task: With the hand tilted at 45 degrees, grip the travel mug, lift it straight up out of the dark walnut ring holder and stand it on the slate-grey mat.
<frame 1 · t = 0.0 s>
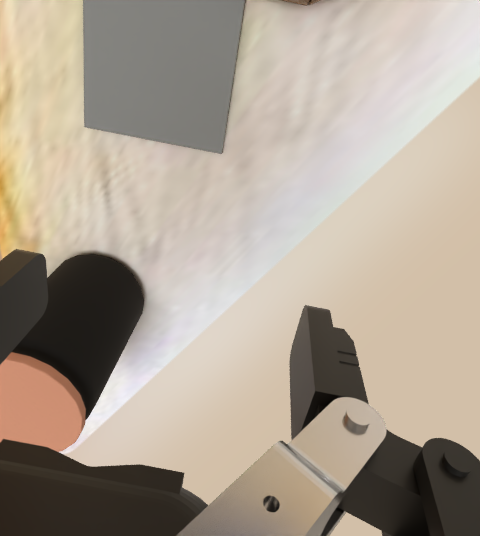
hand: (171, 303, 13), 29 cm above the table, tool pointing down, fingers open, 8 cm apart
coffee jar: (102, 289, 49), on the table
slate mat: (160, 63, 36), on the table
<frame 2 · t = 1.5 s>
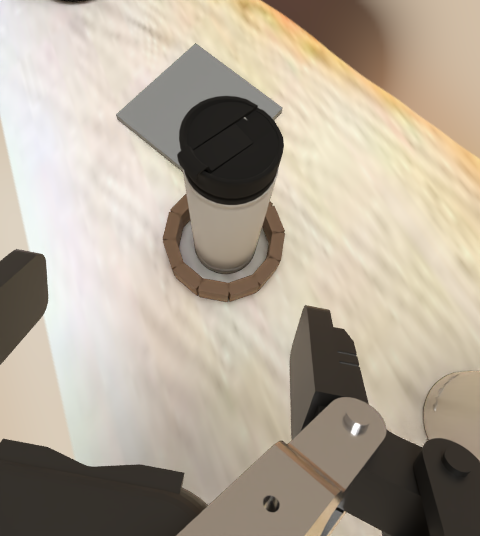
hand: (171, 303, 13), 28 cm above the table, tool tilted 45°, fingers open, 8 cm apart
travel mug: (223, 246, 43), resting in ring holder
slate mat: (200, 115, 47), on the table
ring holder: (223, 245, 43), on the table
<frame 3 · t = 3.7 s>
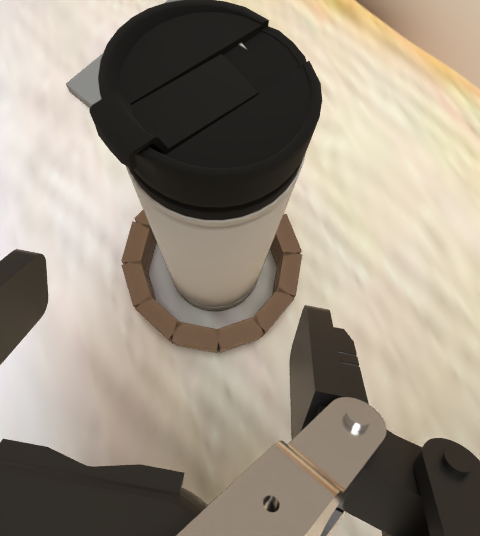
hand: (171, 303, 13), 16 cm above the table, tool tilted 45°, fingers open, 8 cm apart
travel mug: (213, 270, 30), resting in ring holder
slate mat: (184, 87, 34), on the table
ring holder: (213, 270, 30), on the table
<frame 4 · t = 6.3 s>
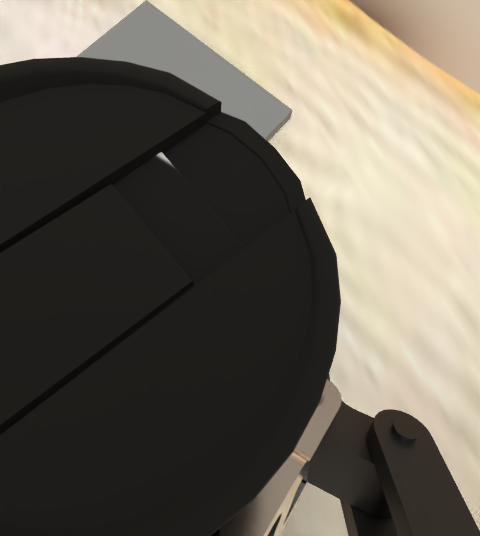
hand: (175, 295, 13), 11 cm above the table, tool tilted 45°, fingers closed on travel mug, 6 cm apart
travel mug: (185, 364, 23), resting in ring holder, touching gripper
slate mat: (151, 122, 27), on the table
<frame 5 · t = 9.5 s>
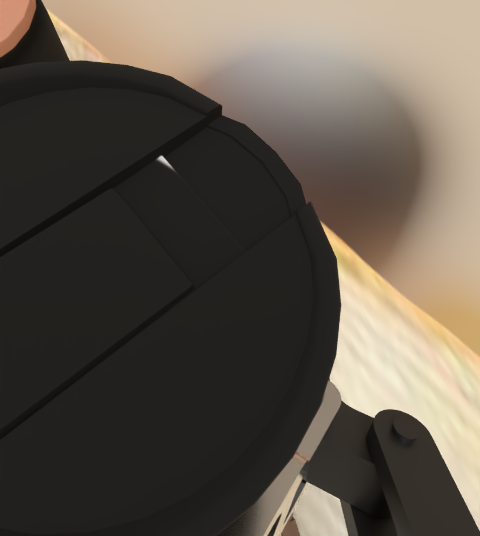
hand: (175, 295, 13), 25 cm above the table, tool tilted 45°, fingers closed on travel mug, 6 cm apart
coffee jar: (54, 154, 42), on the table
travel mug: (184, 365, 23), point 14 cm above the table, touching gripper
when the fingers open (13 cm above the table, at t = 13.0 s): travel mug stays where it is, resting on slate mat.
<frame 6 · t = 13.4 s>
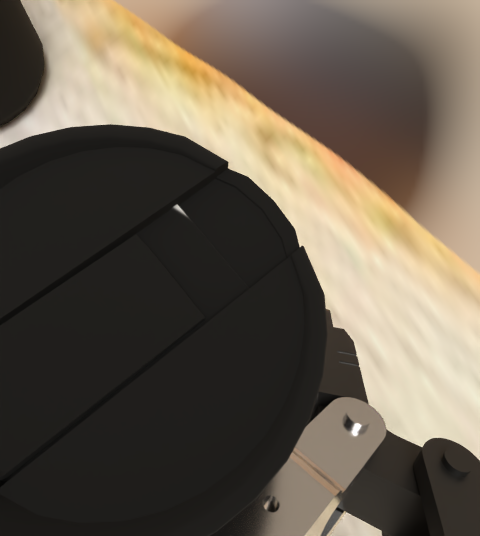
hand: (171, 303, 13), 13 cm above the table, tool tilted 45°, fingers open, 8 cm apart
travel mug: (185, 370, 24), point 1 cm above the table, touching slate mat
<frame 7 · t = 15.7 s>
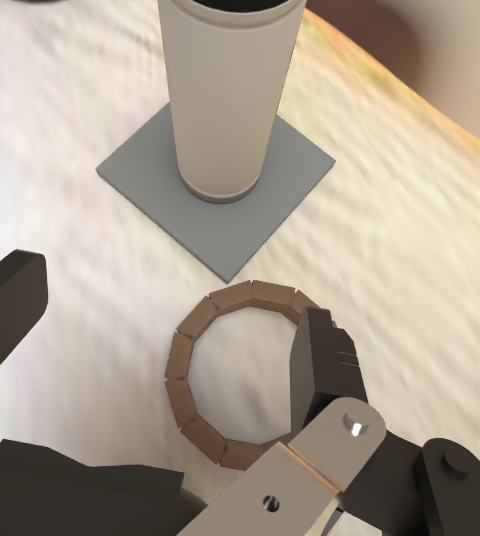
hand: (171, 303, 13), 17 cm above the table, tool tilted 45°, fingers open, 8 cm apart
travel mug: (217, 169, 32), point 1 cm above the table, touching slate mat
slate mat: (218, 169, 33), on the table
ring holder: (254, 372, 29), on the table
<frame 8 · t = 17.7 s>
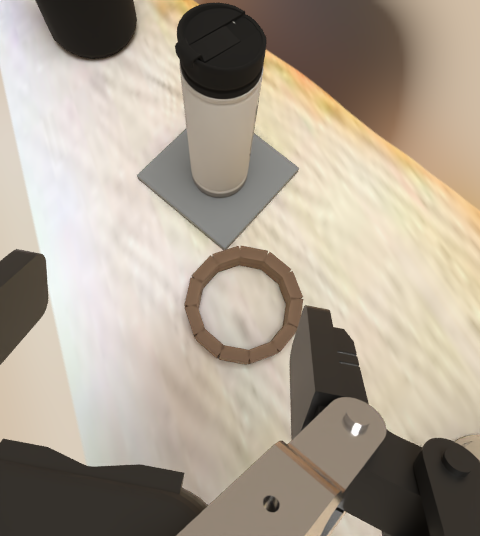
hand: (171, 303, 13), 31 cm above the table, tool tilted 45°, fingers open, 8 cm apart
coffee jar: (96, 29, 53), on the table
travel mug: (218, 174, 47), point 1 cm above the table, touching slate mat
slate mat: (219, 175, 48), on the table
ring holder: (242, 307, 44), on the table
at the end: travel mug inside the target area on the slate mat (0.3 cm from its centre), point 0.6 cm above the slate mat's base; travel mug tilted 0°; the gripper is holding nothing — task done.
